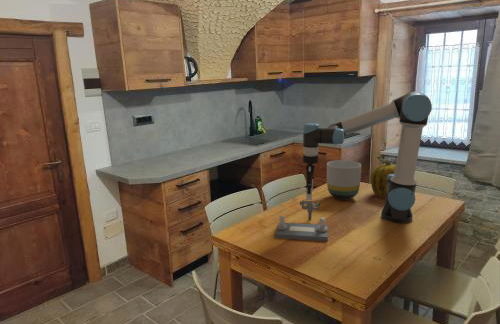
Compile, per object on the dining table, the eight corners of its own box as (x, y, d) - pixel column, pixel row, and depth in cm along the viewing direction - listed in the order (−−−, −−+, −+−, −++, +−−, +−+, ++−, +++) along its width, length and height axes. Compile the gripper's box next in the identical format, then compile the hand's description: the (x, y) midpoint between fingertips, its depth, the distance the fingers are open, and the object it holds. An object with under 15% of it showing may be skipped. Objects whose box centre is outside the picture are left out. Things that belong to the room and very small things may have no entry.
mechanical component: (319, 221, 195) (320, 203, 192) (299, 220, 197) (299, 202, 194) (319, 219, 197) (320, 201, 195) (300, 218, 199) (300, 200, 197)
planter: (363, 203, 218) (365, 167, 213) (329, 204, 219) (330, 168, 213) (354, 193, 237) (356, 159, 232) (323, 193, 237) (324, 160, 232)
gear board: (327, 228, 186) (327, 213, 184) (327, 241, 172) (328, 224, 171) (278, 226, 190) (278, 211, 188) (275, 238, 177) (274, 222, 175)
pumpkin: (365, 192, 238) (367, 153, 232) (394, 190, 239) (397, 152, 234) (378, 202, 219) (380, 160, 214) (409, 200, 221) (412, 158, 215)
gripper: (304, 149, 201) (303, 187, 207) (301, 160, 178) (300, 203, 183) (318, 149, 200) (317, 188, 205) (317, 160, 176) (316, 204, 181)
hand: (309, 195), depth 194 cm, fingers open, 13 cm apart
